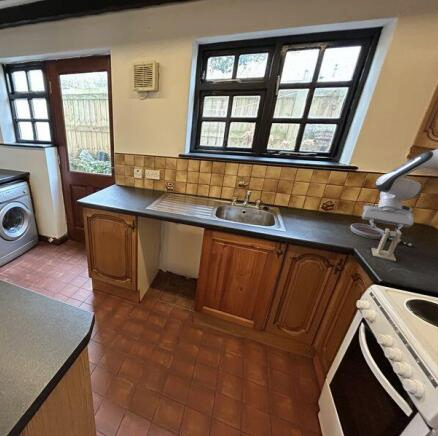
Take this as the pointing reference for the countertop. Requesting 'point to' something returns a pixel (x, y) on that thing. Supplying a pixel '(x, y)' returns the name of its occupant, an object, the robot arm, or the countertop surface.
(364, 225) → the frying pan
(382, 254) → the white stand
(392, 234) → the stove lever
